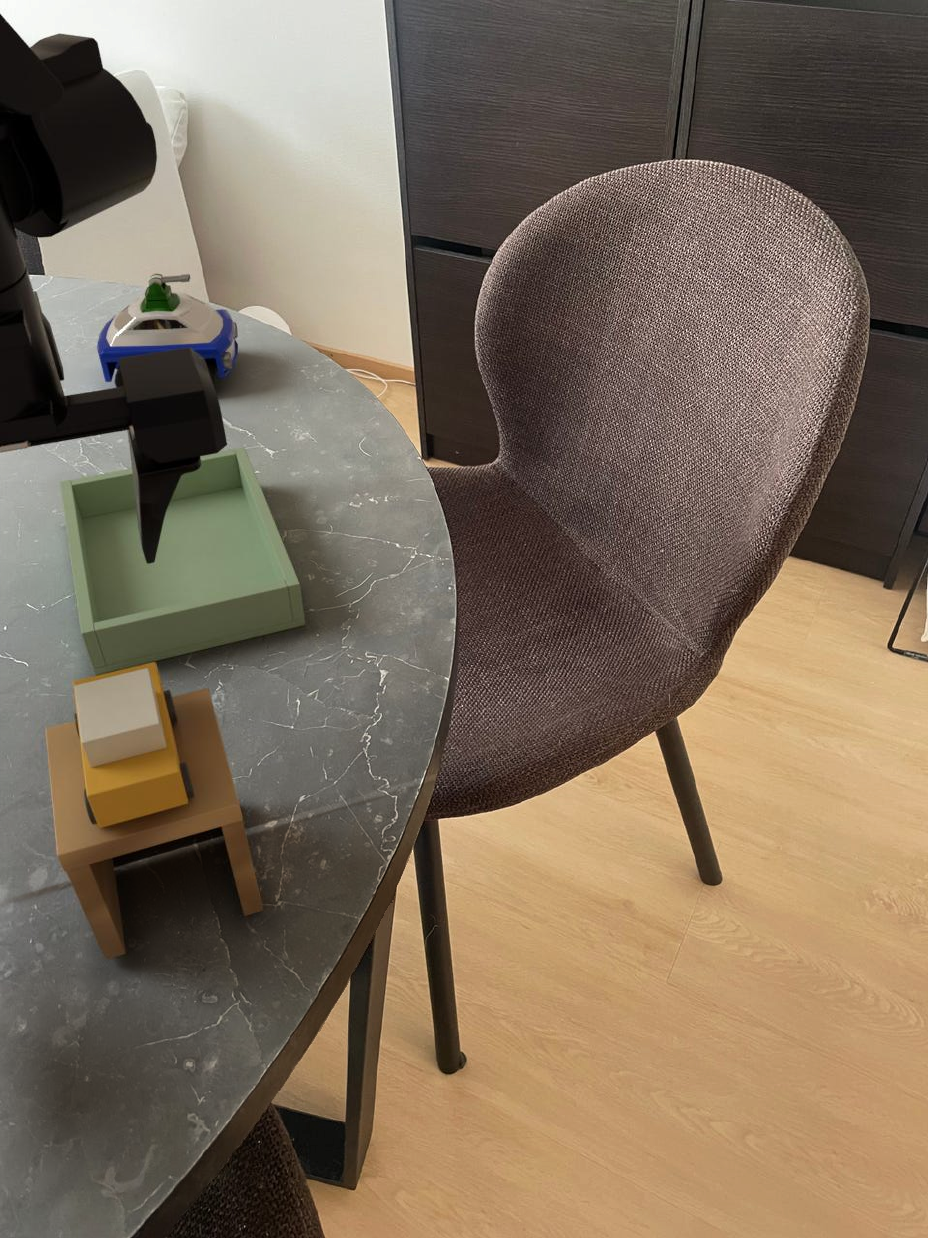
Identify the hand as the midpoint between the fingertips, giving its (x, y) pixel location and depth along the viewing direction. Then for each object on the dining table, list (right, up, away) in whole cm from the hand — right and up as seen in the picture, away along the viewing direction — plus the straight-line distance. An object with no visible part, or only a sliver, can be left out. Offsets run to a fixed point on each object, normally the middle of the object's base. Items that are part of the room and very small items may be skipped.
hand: (56, 577), depth 51 cm
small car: (+6, -9, -4) cm, 11 cm away
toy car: (-6, +20, +42) cm, 47 cm away
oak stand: (+5, -16, +2) cm, 17 cm away
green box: (+1, +1, +21) cm, 21 cm away
